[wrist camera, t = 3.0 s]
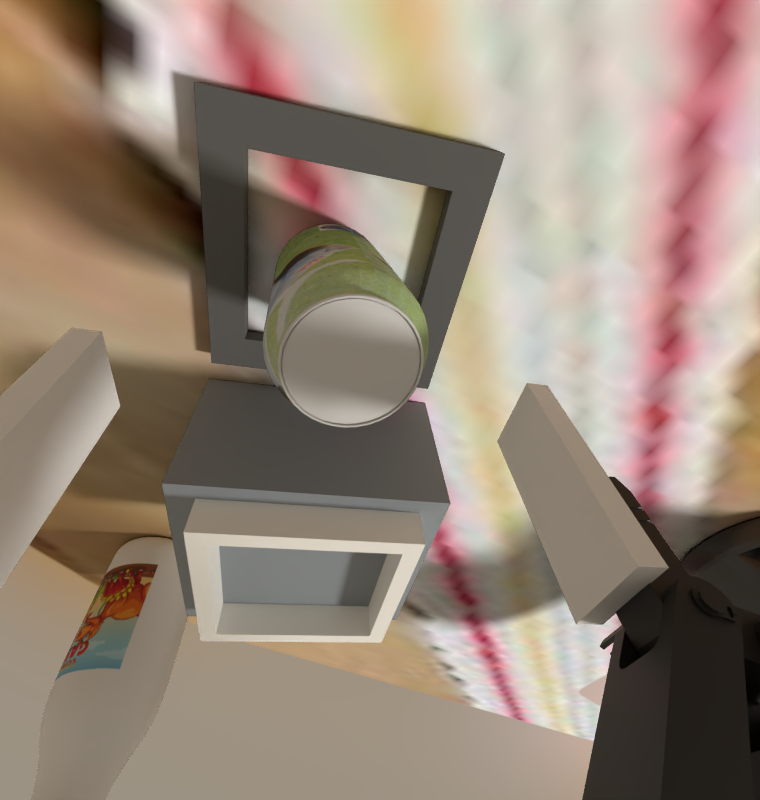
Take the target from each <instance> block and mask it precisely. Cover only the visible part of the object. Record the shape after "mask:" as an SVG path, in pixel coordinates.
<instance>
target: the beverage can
mask: <svg viewBox="0 0 760 800" xmlns="http://www.w3.org/2000/svg"><path fill="white" fill-rule="evenodd" d="M428 347H429V336H428V327H427V323H426V319H425V316H424V313H423V311H422V309H421V307H420V305H419V303H418V301H417V300H416V298H415V297H414V296H413V294H412V293H411V291H410V290H409V289H408V288H407V287H406V285H405V284H404V283H403V282H402V280H401V279H400V278H399V277H398V276H397V274H396V273H395V272H394V271H393V269H392V268H391V267H390V266H389V265H388V263H387V262H386V261H385V260H384V258H383V257H382V256H381V255H380V254H379V252H378V251H377V250H376V249H375V247H374V246H373V245H372V244H371V243H370V242H369V241H368V240H367V239H366V238H365V237H364V236H363V235H361V234H360V233H358V232H357V231H355V230H353V229H351V228H348V227H346V226H341V225H337V224H322V225H316V226H313V227H310V228H307V229H305V230H303V231H301V232H300V233H298V234H297V235H296V236H294V237H293V238H292V239H291V240H290V241H289V242H288V243H287V245H286V246H285V247H284V249H283V250H282V252H281V254H280V256H279V259H278V262H277V265H276V270H275V275H274V280H273V285H272V291H271V296H270V301H269V306H268V311H267V317H266V322H265V327H264V335H263V353H264V360H265V363H266V367H267V370H268V373H269V375H270V377H271V379H272V381H273V383H274V384H275V386H276V387H277V388H278V390H279V391H280V392H281V393H282V395H283V396H284V397H285V398H287V399H288V400H289V401H290V402H291V403H292V404H293V405H294V406H296V407H297V408H298V409H299V410H300V411H301V412H302V413H304V414H305V415H307V416H308V417H310V418H311V419H313V420H316V421H318V422H320V423H323V424H327V425H331V426H336V427H359V426H364V425H369V424H372V423H375V422H378V421H380V420H382V419H384V418H386V417H388V416H390V415H391V414H393V413H394V412H395V411H397V410H398V409H399V408H400V407H401V406H402V405H403V404H405V403H406V402H407V400H408V399H409V398H410V396H411V395H412V394H413V392H414V391H415V389H416V387H417V385H418V383H419V380H420V377H421V374H422V371H423V369H424V366H425V362H426V359H427V354H428Z"/></svg>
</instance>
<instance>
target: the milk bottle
mask: <svg viewBox="0 0 760 800" xmlns="http://www.w3.org/2000/svg"><path fill="white" fill-rule="evenodd" d="M187 619H188V616H187V615H186V610H185V604H184V599H183V594H182V589H181V583H180V578H179V573H178V567H177V562H176V557H175V551H174V546H173V541H172V539H168V538H161V537H143V538H138V539H134V540H132V541H129V542H127V543H126V544H124V545H123V546H122V547H121V548H120V549H119V550H118V551H117V552H116V554H115V556H114V558H113V560H112V562H111V564H110V566H109V568H108V570H107V572H106V574H105V576H104V578H103V580H102V582H101V585H100V587H99V589H98V591H97V593H96V595H95V597H94V599H93V601H92V603H91V605H90V608H89V610H88V612H87V614H86V616H85V618H84V620H83V622H82V624H81V626H80V628H79V630H78V633H77V635H76V637H75V639H74V641H73V643H72V645H71V648H70V649H69V652H68V654H67V656H66V658H65V660H64V662H63V664H62V667H61V669H60V671H59V674H58V676H57V678H56V680H55V683H54V685H53V687H52V689H51V692H50V695H49V697H48V700H47V703H46V706H45V710H44V713H43V717H42V723H41V730H40V741H39V760H38V769H37V776H36V781H35V786H34V790H33V795H32V798H31V800H106V798H107V796H108V793H109V792H110V790H111V788H112V786H113V784H114V782H115V780H116V779H117V777H118V775H119V774H120V772H121V770H122V769H123V767H124V766H125V764H126V763H127V761H128V760H129V758H130V757H131V755H132V754H133V753H134V751H135V750H136V748H137V747H138V745H139V744H140V742H141V741H142V740H143V738H144V737H145V735H146V733H147V732H148V730H149V728H150V726H151V725H152V723H153V721H154V719H155V717H156V715H157V712H158V710H159V708H160V705H161V702H162V700H163V697H164V694H165V691H166V688H167V685H168V682H169V679H170V676H171V672H172V669H173V666H174V663H175V659H176V656H177V652H178V649H179V646H180V643H181V639H182V636H183V632H184V629H185V626H186V622H187Z"/></svg>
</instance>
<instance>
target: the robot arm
mask: <svg viewBox="0 0 760 800" xmlns="http://www.w3.org/2000/svg"><path fill="white" fill-rule="evenodd" d="M119 408H120V403H119V399H118V395H117V391H116V387H115V383H114V379H113V375H112V371H111V367H110V363H109V358H108V354H107V350H106V346H105V342H104V338H103V334H102V331H94V330H85V329H77V328H71V329H70V330H69V331H68V332H67V333H66V334H65V335H64V336H62V337H61V338H60V339H59V340H58V341H57V342H56V343H55V344H54V345H53V346H52V347H51V348H50V349H49V350H48V351H47V352H46V353H45V354H44V355H42V356H41V357H40V358H39V359H38V360H37V361H36V362H35V363H34V364H33V365H32V366H31V367H30V368H29V369H28V370H27V371H26V372H25V373H24V374H22V375H21V376H20V377H19V378H18V379H17V380H16V381H15V382H14V383H13V384H12V385H11V386H10V387H9V388H8V389H7V390H6V391H5V392H4V393H3V394H1V395H0V589H1V587H2V586H3V584H4V583H5V581H6V580H7V578H8V576H9V575H10V574H11V572H12V571H13V569H14V567H15V566H16V564H17V563H18V561H19V560H20V558H21V557H22V555H23V554H24V552H25V550H26V549H27V548H28V546H29V545H30V543H31V542H32V540H33V539H34V537H35V536H36V534H37V532H38V531H39V529H40V528H41V526H42V525H43V523H44V522H45V520H46V519H47V517H48V516H49V514H50V513H51V511H52V510H53V508H54V507H55V505H56V504H57V502H58V501H59V499H60V497H61V496H62V494H63V493H64V491H65V490H66V488H67V487H68V485H69V484H70V482H71V481H72V479H73V478H74V476H75V475H76V473H77V472H78V470H79V469H80V467H81V466H82V464H83V462H84V461H85V459H86V458H87V456H88V455H89V453H90V452H91V450H92V449H93V447H94V446H95V444H96V443H97V441H98V440H99V438H100V437H101V435H102V434H103V432H104V431H105V429H106V427H107V426H108V424H109V423H110V421H111V420H112V418H113V417H114V415H115V414H116V412H117V411H118V409H119ZM497 442H498V444H499V446H500V449H501V451H502V453H503V455H504V458H505V460H506V462H507V465H508V467H509V469H510V472H511V474H512V476H513V479H514V481H515V483H516V486H517V488H518V490H519V493H520V495H521V497H522V500H523V502H524V504H525V507H526V509H527V511H528V514H529V516H530V518H531V520H532V523H533V525H534V527H535V530H536V532H537V534H538V537H539V539H540V541H541V544H542V546H543V548H544V551H545V553H546V555H547V558H548V560H549V562H550V565H551V567H552V569H553V572H554V574H555V576H556V579H557V581H558V583H559V586H560V588H561V590H562V592H563V595H564V597H565V599H566V602H567V604H568V606H569V609H570V611H571V613H572V616H573V618H574V620H575V623H576V624H604V623H605V622H606V621H607V620H608V619H610V618H611V617H612V616H613V615H614V614H615V613H616V614H617V616H618V618H619V620H620V622H621V624H622V625H621V626H620V627H619V628H618V629H617V630H615V631H614V632H613V633H612V634H610V635H609V636H608V637H607V638H605V639H604V640H603V641H602V643H601V645H600V647H601V648H602V649H605V648H607V647H608V646H609V645H610V644H612V643H613V642H614V644H613V649H612V652H611V653H610V654H611V659H610V664H609V669H608V674H607V679H606V684H605V689H604V694H603V699H602V704H601V709H600V714H599V719H598V724H597V729H596V734H595V739H594V744H593V749H592V754H591V759H590V764H589V769H588V774H587V779H586V784H585V789H584V794H583V799H582V800H760V518H758V519H754V520H751V521H748V522H745V523H742V524H739V525H737V526H734V527H732V528H729V529H727V530H725V531H723V532H721V533H719V534H717V535H715V536H713V537H711V538H709V539H708V540H706V541H704V542H703V543H701V544H700V545H699V546H697V547H696V548H695V549H693V550H692V551H691V552H690V553H689V554H688V555H687V556H686V557H685V558H684V559H683V561H682V562H681V563H680V562H679V560H678V559H677V557H676V556H675V554H674V553H673V551H672V550H671V549H670V547H669V546H668V544H667V543H666V541H665V540H664V539H663V537H662V536H661V534H660V533H659V531H658V530H657V529H656V527H655V526H654V524H651V522H650V521H651V520H650V519H649V517H648V516H647V514H646V513H645V511H642V509H641V508H642V507H641V506H640V504H639V503H638V501H637V500H636V498H635V497H634V496H633V494H632V493H631V491H630V490H628V489H627V488H626V487H625V486H624V485H623V484H622V483H621V482H620V481H619V480H617V479H616V478H615V477H608V476H607V474H606V473H605V471H604V470H603V468H602V467H601V465H600V464H599V462H598V461H597V459H596V458H595V456H594V455H593V453H592V452H591V450H590V449H589V447H588V446H587V444H586V443H585V441H584V440H583V438H582V437H581V435H580V434H579V432H578V431H577V429H576V428H575V426H574V425H573V423H572V422H571V420H570V419H569V417H568V416H567V414H566V413H565V411H564V410H563V408H562V407H561V405H560V404H559V402H558V401H557V399H556V398H555V396H554V395H553V393H552V392H551V390H550V389H549V387H548V386H546V385H538V384H530V383H527V384H526V386H525V388H524V390H523V392H522V394H521V396H520V398H519V400H518V402H517V404H516V406H515V408H514V410H513V411H512V413H511V415H510V417H509V419H508V421H507V423H506V425H505V427H504V429H503V431H502V433H501V435H500V437H499V439H498V441H497Z"/></svg>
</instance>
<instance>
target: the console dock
mask: <svg viewBox="0 0 760 800" xmlns="http://www.w3.org/2000/svg"><path fill="white" fill-rule="evenodd" d="M162 488H163V493H164V498H165V504H166V509H167V514H168V520H169V525H170V530H171V536H172V541H173V546H174V551H175V557H176V562H177V567H178V573H179V578H180V583H181V589H182V594H183V599H184V604H185V610H186V615H187V616H197V622H198V628H199V634H200V641H249V642H378V643H381V642H382V640H383V637H384V635H385V633H386V631H387V629H388V626H389V624H390V622H391V620H396V619H397V617H398V615H399V613H400V610H401V608H402V606H403V604H404V602H405V600H406V598H407V595H408V593H409V591H410V589H411V587H412V585H413V583H414V580H415V578H416V576H417V574H418V572H419V570H420V568H421V565H422V563H423V561H424V559H425V557H426V555H427V553H428V550H429V548H430V546H431V544H432V542H433V540H434V538H435V535H436V533H437V531H438V529H439V527H440V525H441V523H442V520H443V518H444V516H445V514H446V512H447V510H448V508H449V505H450V500H449V496H448V492H447V488H446V484H445V480H444V476H443V472H442V468H441V464H440V460H439V457H438V453H437V449H436V445H435V441H434V437H433V433H432V429H431V425H430V421H429V417H428V413H427V409H426V405H425V403H419V402H410V401H407V402H406V403H405V404H403V405H402V406H401V407H400V408H399V409H398V410H397V411H395V412H394V413H393V414H391V415H390V416H388V417H386V418H384V419H382V420H380V421H378V422H375V423H372V424H369V425H364V426H359V427H336V426H331V425H327V424H323V423H320V422H318V421H316V420H313V419H311V418H310V417H308V416H307V415H305V414H304V413H302V412H301V411H300V410H299V409H298V408H297V407H296V406H294V405H293V404H292V403H291V402H290V401H289V400H288V399H287V398H285V397H284V396H283V395H282V393H281V392H280V391H279V390H278V388H277V387H276V386H268V385H259V384H251V383H242V382H233V381H224V380H215V379H209V380H208V382H207V384H206V387H205V389H204V391H203V393H202V395H201V398H200V400H199V402H198V404H197V406H196V409H195V411H194V413H193V415H192V417H191V420H190V422H189V424H188V426H187V429H186V431H185V433H184V435H183V437H182V440H181V442H180V444H179V446H178V448H177V451H176V453H175V455H174V457H173V459H172V462H171V464H170V466H169V468H168V471H167V473H166V475H165V477H164V479H163V482H162Z"/></svg>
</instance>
